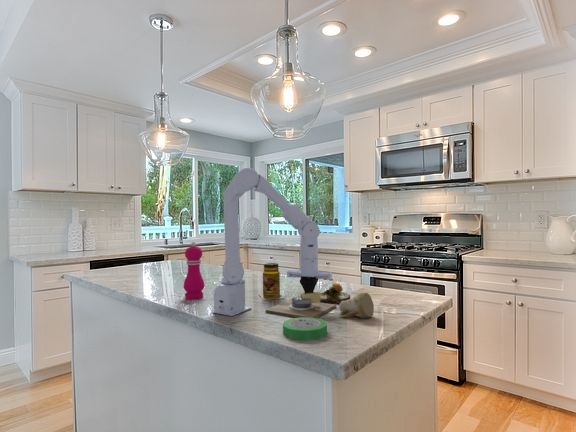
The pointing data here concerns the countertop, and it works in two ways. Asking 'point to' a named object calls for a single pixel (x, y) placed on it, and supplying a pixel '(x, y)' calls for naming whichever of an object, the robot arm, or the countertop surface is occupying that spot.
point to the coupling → (306, 299)
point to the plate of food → (334, 294)
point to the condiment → (271, 282)
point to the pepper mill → (193, 273)
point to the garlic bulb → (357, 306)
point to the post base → (301, 310)
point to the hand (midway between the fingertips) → (309, 300)
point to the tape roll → (305, 328)
